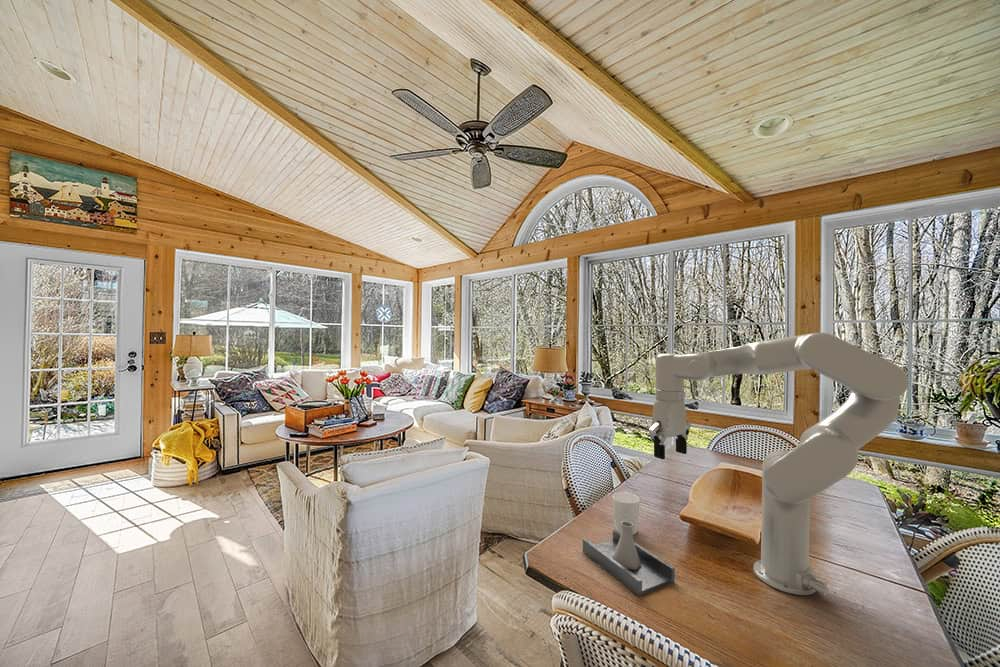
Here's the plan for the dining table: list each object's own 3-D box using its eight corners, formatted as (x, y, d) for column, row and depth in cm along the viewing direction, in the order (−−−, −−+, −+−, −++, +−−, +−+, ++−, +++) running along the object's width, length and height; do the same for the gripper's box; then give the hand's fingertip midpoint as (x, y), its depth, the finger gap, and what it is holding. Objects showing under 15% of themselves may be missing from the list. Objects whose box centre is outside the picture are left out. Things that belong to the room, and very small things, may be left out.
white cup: (641, 538, 114) (641, 504, 114) (613, 534, 115) (614, 501, 116) (637, 525, 122) (637, 493, 122) (611, 522, 123) (611, 491, 123)
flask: (642, 558, 101) (643, 520, 101) (639, 573, 95) (640, 533, 95) (614, 551, 105) (615, 514, 105) (609, 565, 98) (610, 526, 98)
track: (674, 582, 94) (674, 567, 94) (638, 596, 88) (639, 581, 88) (615, 542, 111) (615, 529, 111) (582, 551, 106) (582, 539, 106)
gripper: (677, 392, 119) (677, 448, 118) (638, 396, 110) (639, 456, 110) (700, 395, 112) (701, 454, 112) (661, 400, 104) (662, 463, 103)
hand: (670, 455), depth 111 cm, fingers open, 9 cm apart
